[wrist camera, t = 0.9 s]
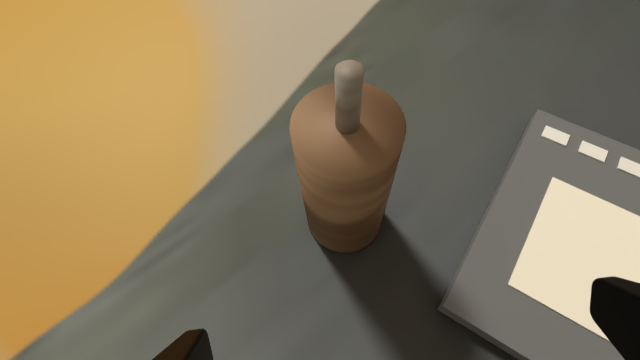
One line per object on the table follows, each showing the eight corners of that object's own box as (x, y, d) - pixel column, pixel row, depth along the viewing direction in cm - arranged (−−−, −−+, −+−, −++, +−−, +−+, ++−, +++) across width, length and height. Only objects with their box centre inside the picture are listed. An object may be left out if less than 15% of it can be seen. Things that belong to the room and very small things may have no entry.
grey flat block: (696, 469, 17) (722, 476, 16) (437, 309, 21) (443, 305, 20) (736, 205, 23) (757, 196, 22) (530, 119, 27) (538, 108, 26)
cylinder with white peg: (357, 267, 22) (376, 151, 11) (293, 227, 24) (250, 88, 12) (394, 207, 24) (444, 52, 12) (333, 173, 25) (328, 7, 14)
